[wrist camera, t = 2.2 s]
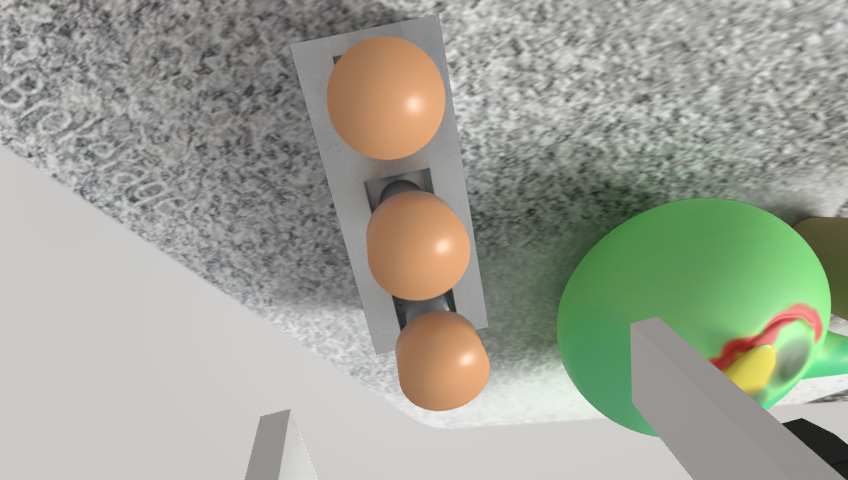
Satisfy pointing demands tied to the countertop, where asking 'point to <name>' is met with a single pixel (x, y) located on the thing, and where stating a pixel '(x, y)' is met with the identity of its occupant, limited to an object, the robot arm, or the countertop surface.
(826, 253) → the squeeze bottle
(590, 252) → the toy bird
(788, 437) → the robot arm
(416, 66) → the knob
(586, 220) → the countertop surface
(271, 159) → the countertop surface
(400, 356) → the knob
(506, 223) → the countertop surface
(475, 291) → the mount
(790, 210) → the countertop surface
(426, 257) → the knob middle
